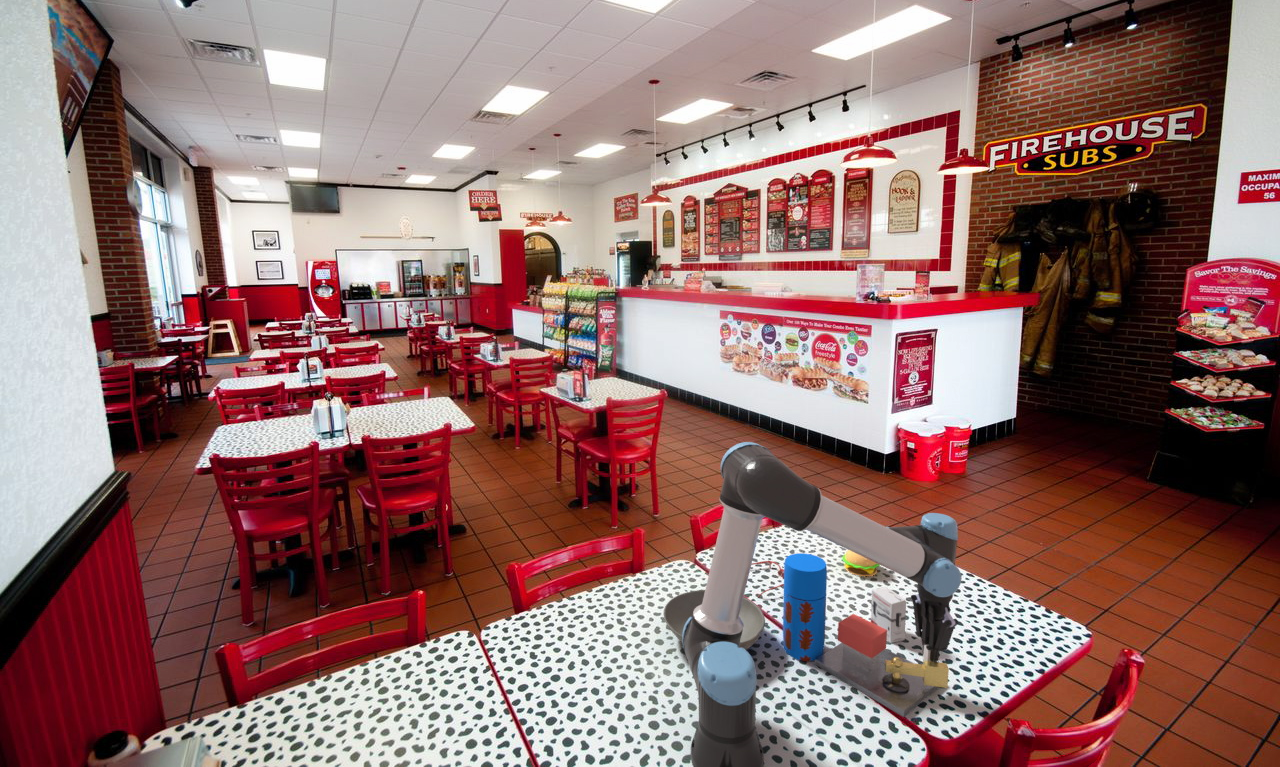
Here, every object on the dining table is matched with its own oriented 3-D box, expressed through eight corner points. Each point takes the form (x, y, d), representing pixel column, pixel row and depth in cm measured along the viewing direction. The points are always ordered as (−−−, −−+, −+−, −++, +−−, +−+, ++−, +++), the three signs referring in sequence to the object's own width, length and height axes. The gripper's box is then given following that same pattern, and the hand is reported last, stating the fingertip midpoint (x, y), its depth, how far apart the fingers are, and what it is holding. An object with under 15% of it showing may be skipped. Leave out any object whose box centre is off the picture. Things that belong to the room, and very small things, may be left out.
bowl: (684, 683, 146) (684, 653, 144) (652, 622, 172) (651, 596, 171) (783, 663, 153) (784, 633, 152) (737, 607, 180) (738, 582, 178)
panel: (903, 717, 133) (905, 691, 132) (814, 664, 152) (815, 641, 151) (943, 683, 143) (944, 659, 142) (855, 638, 162) (856, 617, 161)
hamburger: (882, 569, 202) (883, 545, 200) (875, 584, 192) (877, 559, 190) (846, 561, 208) (847, 538, 207) (838, 575, 198) (839, 551, 196)
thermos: (826, 663, 152) (829, 573, 148) (783, 659, 154) (785, 570, 150) (822, 639, 163) (824, 554, 159) (782, 635, 165) (783, 551, 161)
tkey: (885, 682, 141) (886, 659, 140) (884, 676, 143) (885, 653, 142) (947, 690, 138) (949, 667, 137) (944, 684, 140) (946, 660, 139)
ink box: (869, 627, 168) (871, 588, 166) (884, 623, 169) (885, 585, 167) (890, 644, 160) (892, 603, 158) (905, 640, 161) (907, 600, 159)
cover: (871, 658, 144) (872, 639, 143) (837, 640, 151) (838, 622, 150) (886, 648, 147) (887, 630, 147) (852, 631, 155) (853, 613, 154)
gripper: (970, 590, 133) (962, 684, 137) (929, 564, 145) (923, 651, 149) (942, 595, 131) (935, 690, 135) (903, 568, 143) (898, 656, 147)
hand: (929, 670), depth 142 cm, fingers closed
